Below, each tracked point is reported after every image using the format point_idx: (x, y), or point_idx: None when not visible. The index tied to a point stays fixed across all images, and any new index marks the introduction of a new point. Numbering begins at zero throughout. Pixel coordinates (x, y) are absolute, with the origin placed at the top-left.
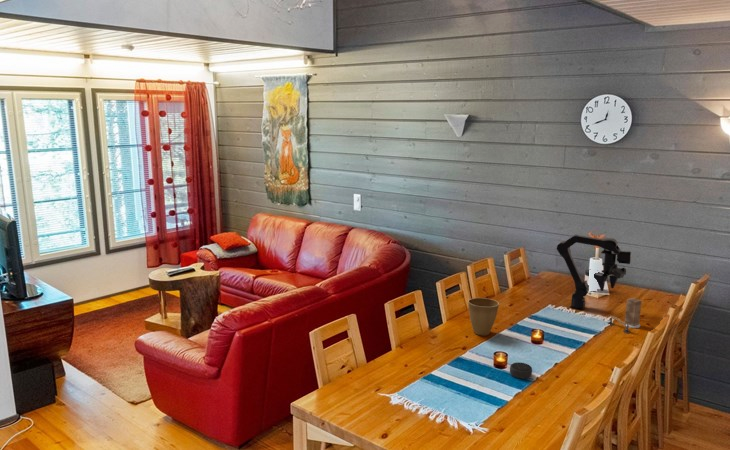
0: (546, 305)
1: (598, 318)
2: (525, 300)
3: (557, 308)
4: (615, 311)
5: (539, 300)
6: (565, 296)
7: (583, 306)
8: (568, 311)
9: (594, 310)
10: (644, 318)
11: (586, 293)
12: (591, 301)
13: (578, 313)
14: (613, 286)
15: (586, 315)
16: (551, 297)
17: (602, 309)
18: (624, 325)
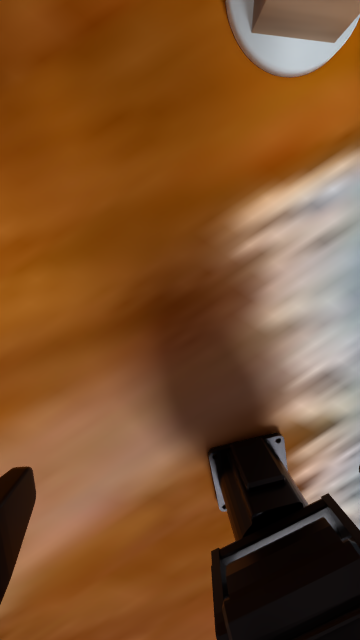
0: None
1: (333, 272)
2: None
3: (348, 507)
4: (84, 301)
5: None
6: (118, 622)
7: (262, 447)
8: (350, 450)
9: (202, 390)
10: (6, 25)
11: (339, 540)
12: (51, 513)
13: (339, 401)
14: (4, 501)
15: (337, 353)
16: (204, 632)
17: (133, 377)
18: (348, 34)
